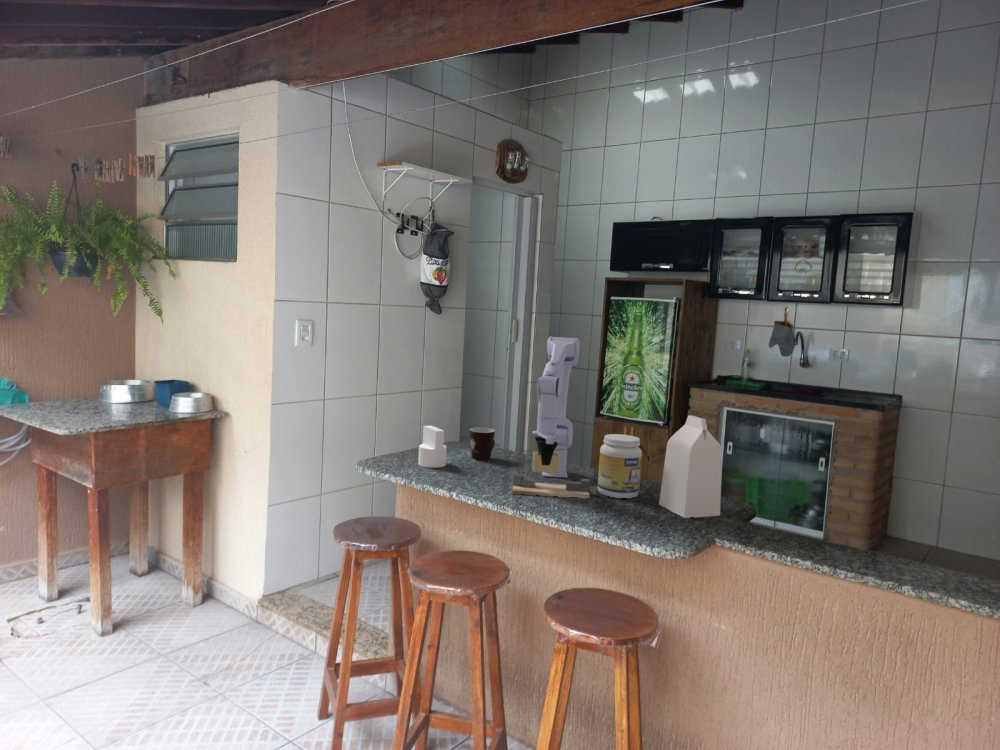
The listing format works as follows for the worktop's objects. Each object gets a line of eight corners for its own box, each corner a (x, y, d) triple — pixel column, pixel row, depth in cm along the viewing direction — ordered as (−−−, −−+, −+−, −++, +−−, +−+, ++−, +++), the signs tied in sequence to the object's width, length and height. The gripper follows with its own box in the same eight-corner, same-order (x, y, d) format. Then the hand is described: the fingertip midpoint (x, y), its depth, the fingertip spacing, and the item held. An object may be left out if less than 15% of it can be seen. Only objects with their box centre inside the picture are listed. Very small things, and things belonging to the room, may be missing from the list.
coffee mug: (467, 455, 243) (469, 427, 242) (492, 455, 244) (493, 427, 243) (469, 463, 231) (471, 434, 230) (495, 464, 232) (497, 434, 231)
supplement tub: (629, 502, 196) (633, 443, 194) (590, 494, 202) (594, 437, 200) (645, 493, 206) (649, 437, 204) (607, 485, 213) (610, 431, 211)
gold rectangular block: (531, 468, 204) (533, 451, 203) (555, 469, 205) (556, 452, 204) (533, 471, 200) (534, 455, 200) (557, 473, 201) (558, 456, 200)
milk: (658, 504, 195) (666, 413, 192) (693, 502, 199) (700, 413, 196) (684, 518, 184) (692, 422, 181) (719, 515, 188) (728, 421, 185)
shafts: (512, 482, 206) (513, 473, 206) (587, 487, 206) (588, 477, 205) (512, 487, 202) (513, 476, 202) (589, 491, 201) (589, 481, 201)
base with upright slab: (450, 465, 227) (452, 429, 225) (426, 468, 222) (428, 431, 220) (437, 459, 234) (438, 424, 233) (413, 462, 229) (414, 426, 228)
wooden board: (513, 484, 208) (513, 481, 208) (586, 488, 208) (586, 485, 207) (512, 494, 198) (512, 490, 198) (589, 498, 198) (589, 495, 198)
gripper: (530, 412, 207) (527, 456, 209) (537, 421, 193) (534, 469, 195) (553, 413, 208) (551, 457, 210) (562, 422, 194) (559, 469, 195)
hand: (544, 463), depth 202 cm, fingers closed on gold rectangular block, 4 cm apart
